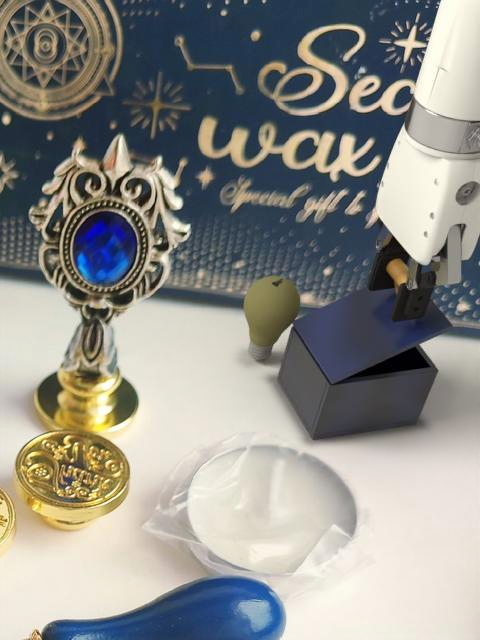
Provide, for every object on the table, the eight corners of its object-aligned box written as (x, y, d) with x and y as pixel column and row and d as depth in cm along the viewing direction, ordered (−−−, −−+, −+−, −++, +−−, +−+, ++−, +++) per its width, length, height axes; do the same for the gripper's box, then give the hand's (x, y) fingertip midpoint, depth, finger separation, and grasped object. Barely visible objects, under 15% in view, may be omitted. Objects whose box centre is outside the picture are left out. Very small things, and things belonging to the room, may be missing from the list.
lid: (406, 271, 106) (400, 234, 102) (453, 329, 99) (448, 291, 96) (292, 325, 108) (283, 290, 104) (331, 384, 102) (322, 349, 98)
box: (375, 366, 114) (395, 312, 109) (416, 424, 108) (439, 370, 103) (276, 380, 113) (291, 326, 108) (312, 439, 107) (330, 385, 102)
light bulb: (277, 381, 113) (298, 303, 105) (225, 366, 114) (243, 288, 107) (290, 350, 116) (312, 273, 109) (239, 336, 118) (258, 259, 110)
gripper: (553, 167, 83) (475, 352, 97) (447, 69, 94) (391, 248, 108) (462, 178, 82) (397, 364, 96) (367, 79, 93) (320, 257, 107)
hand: (394, 301), depth 102 cm, fingers closed on lid, 4 cm apart
